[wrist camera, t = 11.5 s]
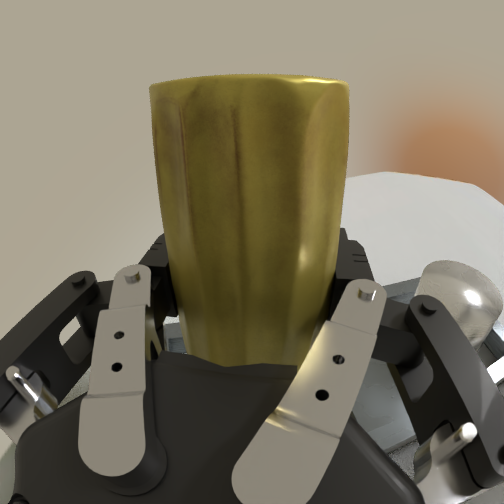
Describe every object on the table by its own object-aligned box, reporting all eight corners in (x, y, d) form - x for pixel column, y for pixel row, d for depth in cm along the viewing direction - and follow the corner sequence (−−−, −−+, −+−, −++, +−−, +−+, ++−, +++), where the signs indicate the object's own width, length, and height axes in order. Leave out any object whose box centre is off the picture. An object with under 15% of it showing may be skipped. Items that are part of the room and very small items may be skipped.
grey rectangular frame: (442, 283, 23) (459, 234, 20) (517, 368, 14) (552, 319, 11) (154, 341, 18) (134, 282, 16) (163, 505, 9) (123, 482, 7)
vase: (175, 421, 13) (80, 98, 5) (225, 342, 18) (206, 82, 10) (292, 463, 11) (366, 77, 4) (323, 368, 16) (368, 86, 8)
